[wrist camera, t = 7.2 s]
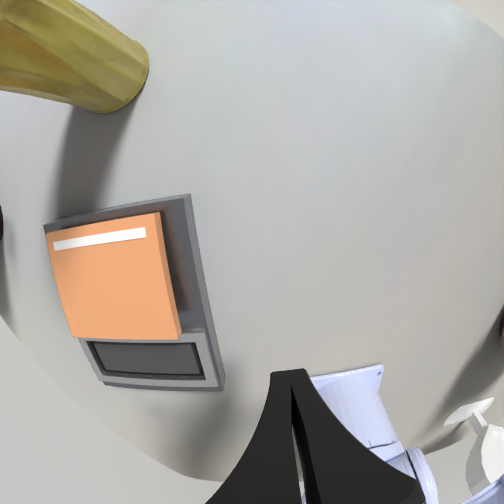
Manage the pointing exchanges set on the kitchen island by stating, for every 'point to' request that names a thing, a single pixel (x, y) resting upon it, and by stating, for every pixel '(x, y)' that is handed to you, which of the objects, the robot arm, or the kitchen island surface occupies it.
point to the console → (184, 289)
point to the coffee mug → (1, 223)
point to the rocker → (115, 279)
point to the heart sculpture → (481, 446)
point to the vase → (68, 55)
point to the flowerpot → (502, 332)
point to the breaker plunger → (150, 357)
